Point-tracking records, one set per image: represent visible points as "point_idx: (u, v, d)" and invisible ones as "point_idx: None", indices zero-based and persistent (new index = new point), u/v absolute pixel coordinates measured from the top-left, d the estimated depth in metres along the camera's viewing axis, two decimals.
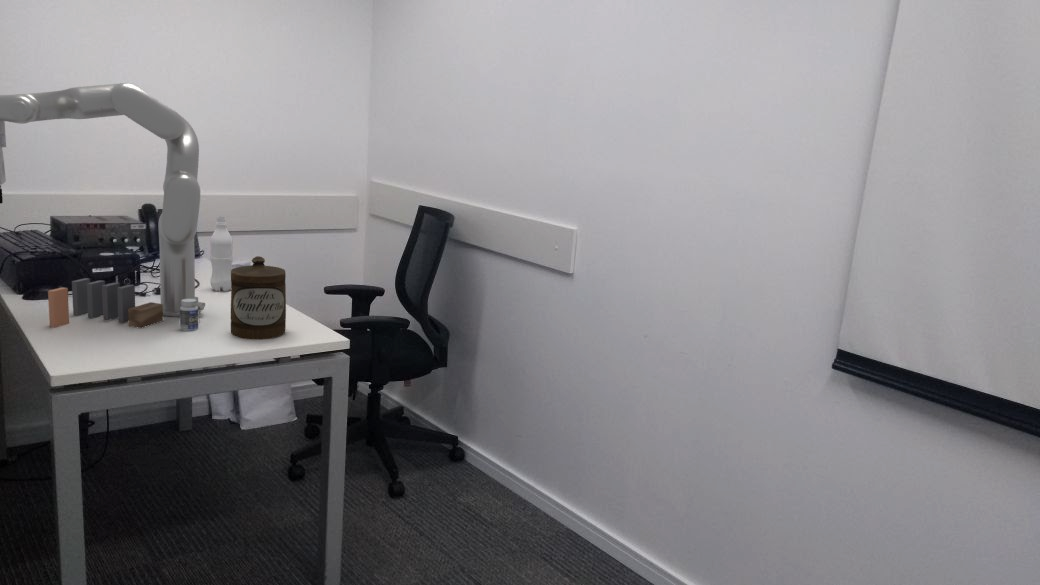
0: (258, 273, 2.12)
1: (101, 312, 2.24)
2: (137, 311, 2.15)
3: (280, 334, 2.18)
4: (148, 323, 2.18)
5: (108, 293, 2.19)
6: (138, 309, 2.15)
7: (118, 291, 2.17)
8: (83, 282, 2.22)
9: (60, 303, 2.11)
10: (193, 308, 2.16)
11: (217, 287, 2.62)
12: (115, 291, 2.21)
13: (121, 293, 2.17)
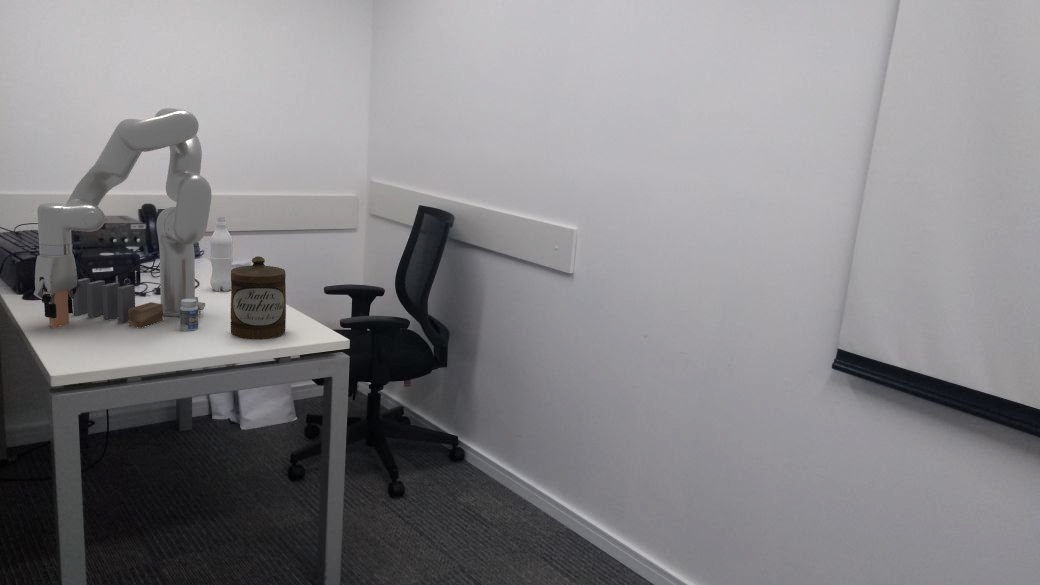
0: (258, 273, 2.12)
1: (101, 312, 2.24)
2: (137, 311, 2.15)
3: (280, 334, 2.18)
4: (148, 323, 2.18)
5: (108, 293, 2.19)
6: (138, 309, 2.15)
7: (118, 291, 2.17)
8: (83, 282, 2.22)
9: (60, 303, 2.11)
10: (193, 308, 2.16)
11: (217, 287, 2.62)
12: (115, 291, 2.21)
13: (121, 293, 2.17)
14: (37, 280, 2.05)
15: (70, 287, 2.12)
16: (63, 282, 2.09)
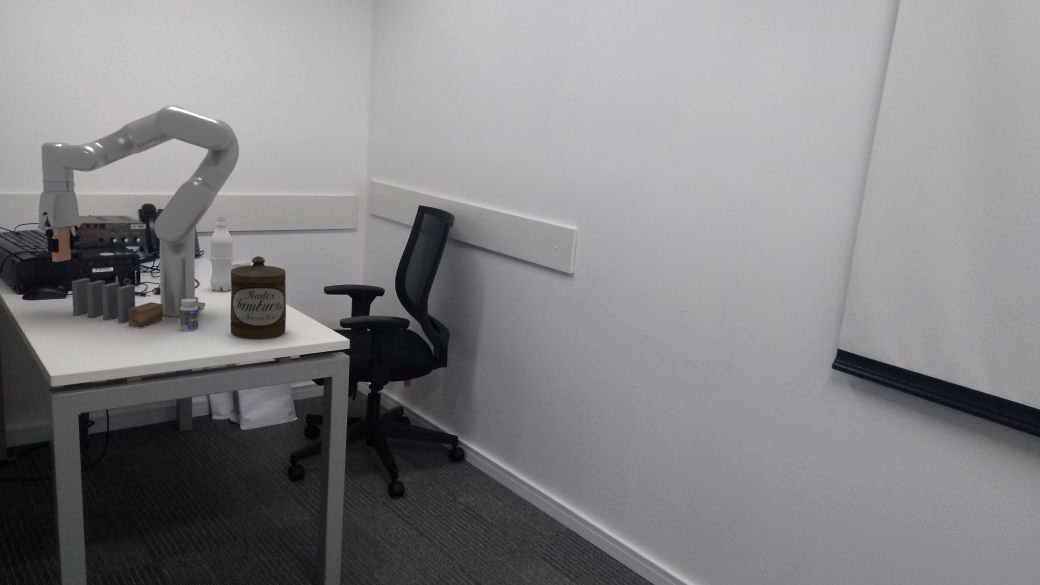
0: (258, 273, 2.12)
1: (101, 312, 2.24)
2: (137, 311, 2.15)
3: (280, 334, 2.18)
4: (148, 323, 2.18)
5: (108, 293, 2.19)
6: (138, 309, 2.15)
7: (118, 291, 2.17)
8: (83, 282, 2.22)
9: (62, 239, 2.21)
10: (193, 308, 2.16)
11: (217, 287, 2.62)
12: (115, 291, 2.21)
13: (121, 293, 2.17)
14: (41, 215, 2.15)
15: (72, 224, 2.22)
16: (65, 218, 2.19)
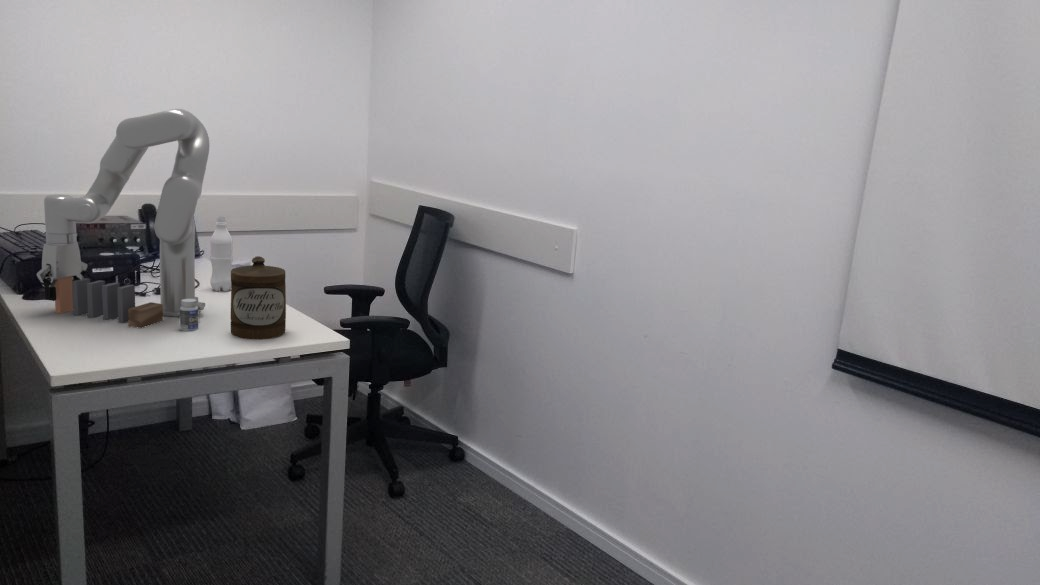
0: (258, 273, 2.12)
1: (101, 312, 2.24)
2: (137, 311, 2.15)
3: (280, 334, 2.18)
4: (148, 323, 2.18)
5: (108, 293, 2.19)
6: (138, 309, 2.15)
7: (118, 291, 2.17)
8: (83, 282, 2.22)
9: (65, 290, 2.24)
10: (193, 308, 2.16)
11: (217, 287, 2.62)
12: (115, 291, 2.21)
13: (121, 293, 2.17)
14: (44, 267, 2.18)
15: (75, 274, 2.25)
16: (68, 269, 2.22)
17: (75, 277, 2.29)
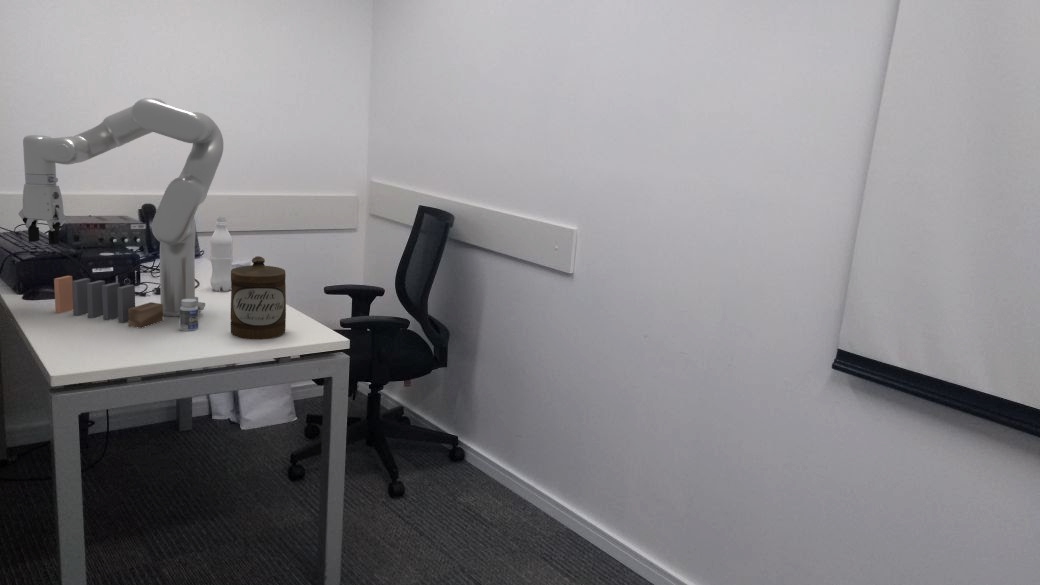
0: (258, 273, 2.12)
1: (101, 312, 2.24)
2: (137, 311, 2.15)
3: (280, 334, 2.18)
4: (148, 323, 2.18)
5: (108, 293, 2.19)
6: (138, 309, 2.15)
7: (118, 291, 2.17)
8: (83, 282, 2.22)
9: (65, 290, 2.24)
10: (193, 308, 2.16)
11: (217, 287, 2.62)
12: (115, 291, 2.21)
13: (121, 293, 2.17)
14: None
15: (43, 218, 2.19)
16: (34, 211, 2.19)
17: None
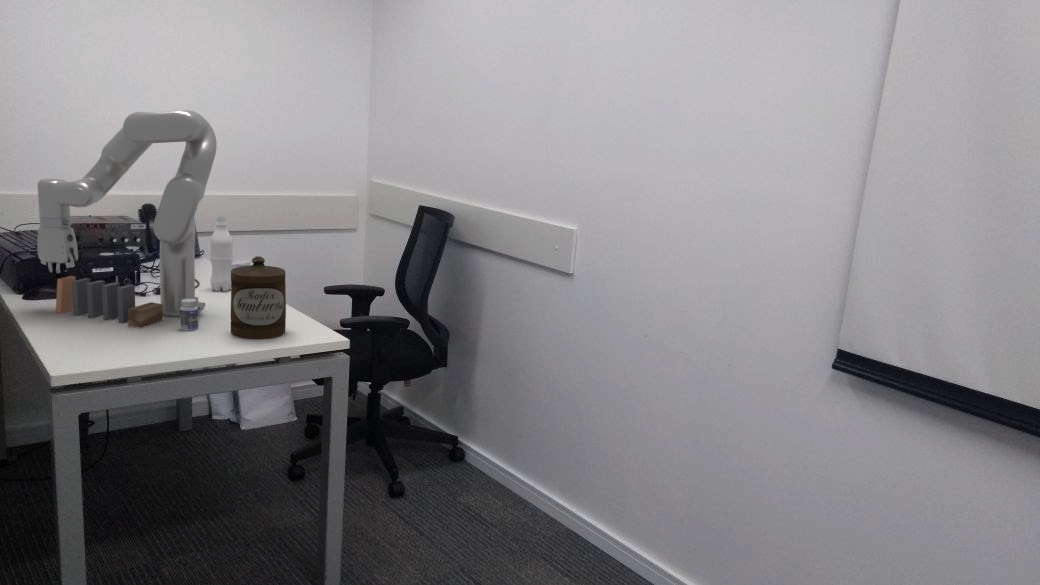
0: (258, 273, 2.12)
1: (101, 312, 2.24)
2: (137, 311, 2.15)
3: (280, 334, 2.18)
4: (148, 323, 2.18)
5: (108, 293, 2.19)
6: (138, 309, 2.15)
7: (118, 291, 2.17)
8: (83, 282, 2.22)
9: (67, 291, 2.24)
10: (193, 308, 2.16)
11: (217, 287, 2.62)
12: (115, 291, 2.21)
13: (121, 293, 2.17)
14: None
15: (58, 261, 2.21)
16: (49, 253, 2.21)
17: None
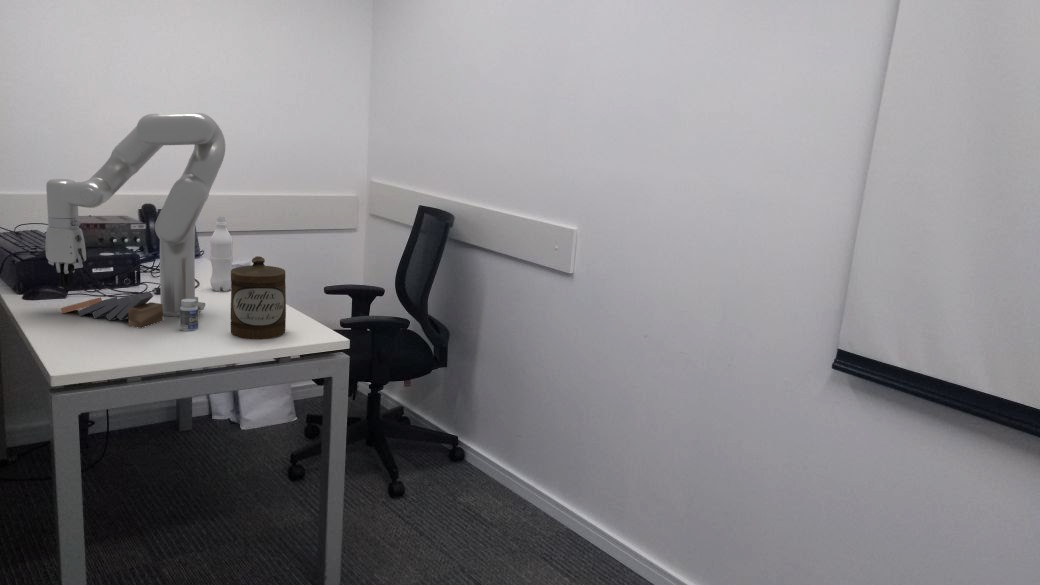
0: (258, 273, 2.12)
1: (105, 314, 2.24)
2: (137, 311, 2.15)
3: (280, 334, 2.18)
4: (148, 323, 2.18)
5: None
6: (138, 309, 2.15)
7: (136, 298, 2.16)
8: None
9: None
10: (193, 308, 2.16)
11: (217, 287, 2.62)
12: None
13: (137, 301, 2.16)
14: None
15: (66, 261, 2.20)
16: (57, 254, 2.20)
17: None
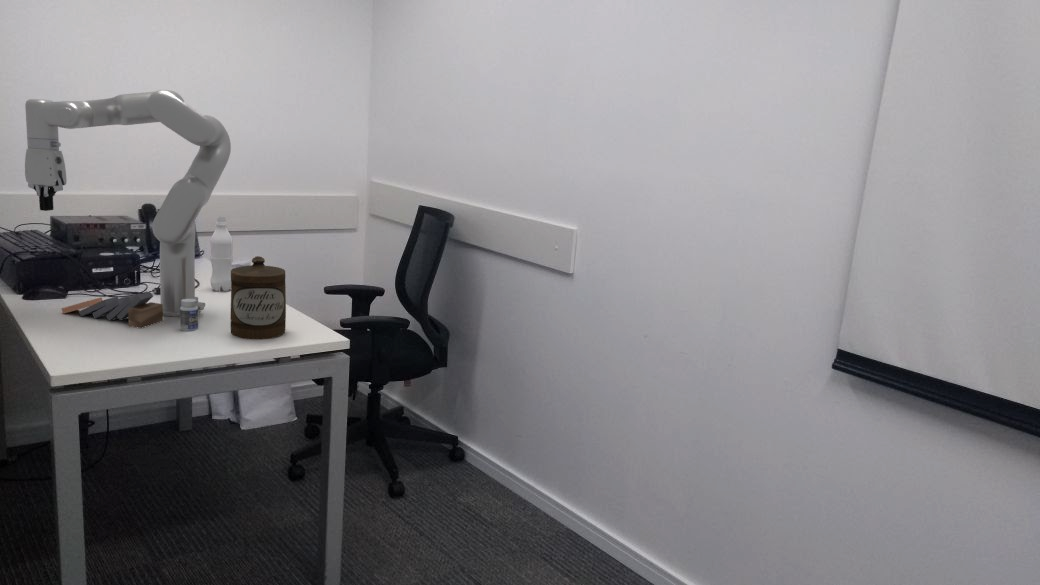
0: (258, 273, 2.12)
1: (105, 314, 2.24)
2: (137, 311, 2.15)
3: (280, 334, 2.18)
4: (148, 323, 2.18)
5: None
6: (138, 309, 2.15)
7: (136, 298, 2.16)
8: None
9: None
10: (193, 308, 2.16)
11: (217, 287, 2.62)
12: None
13: (137, 301, 2.16)
14: None
15: (46, 183, 2.16)
16: (36, 176, 2.16)
17: None
